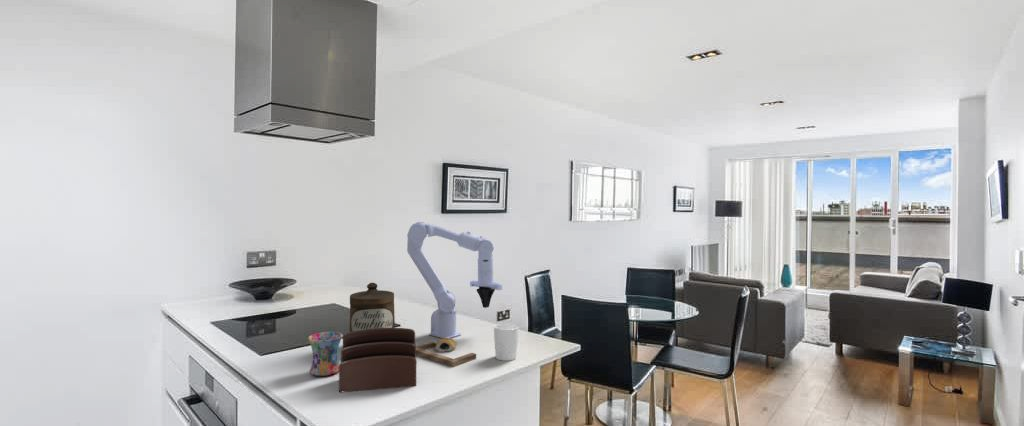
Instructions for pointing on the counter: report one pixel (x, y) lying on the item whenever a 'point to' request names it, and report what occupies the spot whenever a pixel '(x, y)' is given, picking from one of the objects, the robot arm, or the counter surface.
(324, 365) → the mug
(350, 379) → the letter holder
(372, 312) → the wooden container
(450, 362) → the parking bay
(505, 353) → the white cup
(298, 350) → the counter surface
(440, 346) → the pastry
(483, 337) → the counter surface
